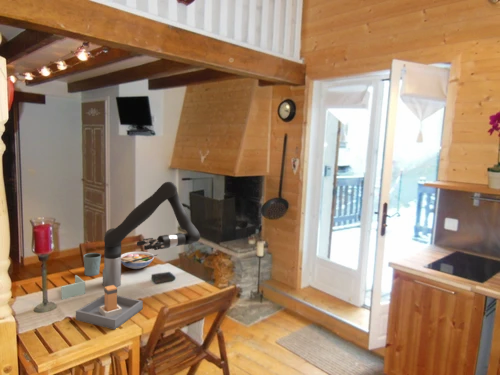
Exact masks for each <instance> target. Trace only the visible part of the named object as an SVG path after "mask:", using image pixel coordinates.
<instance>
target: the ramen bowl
mask: <svg viewBox="0 0 500 375" xmlns="http://www.w3.org/2000/svg"><path fill="white" fill-rule="evenodd" d="M156 256H157V257H158V254H153V253H152V252H148V251H129V252H125V253H121V265H123V266H124V267H126V268H129V269H133V270H140V269H143V268H145V267H148V266H149V265H150V264H151V263H152V262H153V261H154V258H155V257H156Z"/></svg>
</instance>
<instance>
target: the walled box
mask: <svg viewBox="0 0 500 375" xmlns="http://www.w3.org/2000/svg"><path fill="white" fill-rule="evenodd" d="M143 302H144V300H141V299H135V298H131V297H126V296H123V295H122V296H121V295H118V294H117V309H115V310H111V311H108V312H107V311H105V310H104V304H105V293H104V294H103V295H101V296H100V297H97V298H96V299H95V300H93V301H91V302H89V303H87V304H86V305H84V306H81V307H80V308H79V309H77V310H75V321H78V322H82V323H86V324H87V323H88V324H91V325H95V326H98V327H103V328H106V327H107V329H112V330H117V329H118V328H119V327H121V326H122V325H123V324H124V323H126V322H127V321H128V320H130V319H131V318H133V317H134V316H136V315H137V314H138V313H139V312H141V311H142V310H143V308H144V307H143V306H144V304H143ZM116 328H117V329H116Z"/></svg>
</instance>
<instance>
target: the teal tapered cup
mask: <svg viewBox="0 0 500 375" xmlns="http://www.w3.org/2000/svg"><path fill="white" fill-rule="evenodd" d="M101 257H102V254H101V253H98V252H89V253H86V254H84V255H83V263H84V264H83V268H84V271H83V272H84V276H86V277H94V276H97V275H100V270H101V269H100V268H101V259H102V258H101Z"/></svg>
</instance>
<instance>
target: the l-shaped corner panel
mask: <svg viewBox="0 0 500 375" xmlns="http://www.w3.org/2000/svg"><path fill="white" fill-rule="evenodd" d="M60 289H61V300H67V299H70V298H73V297H74V298H75V297H78V296H81V295H85V294H86V281H85V280H83V279H82V278H81V277H80V276H78V275H77V274H75V275H74V283H72V284H71V283H70V284H67V285H62V286H61V288H60Z"/></svg>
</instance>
